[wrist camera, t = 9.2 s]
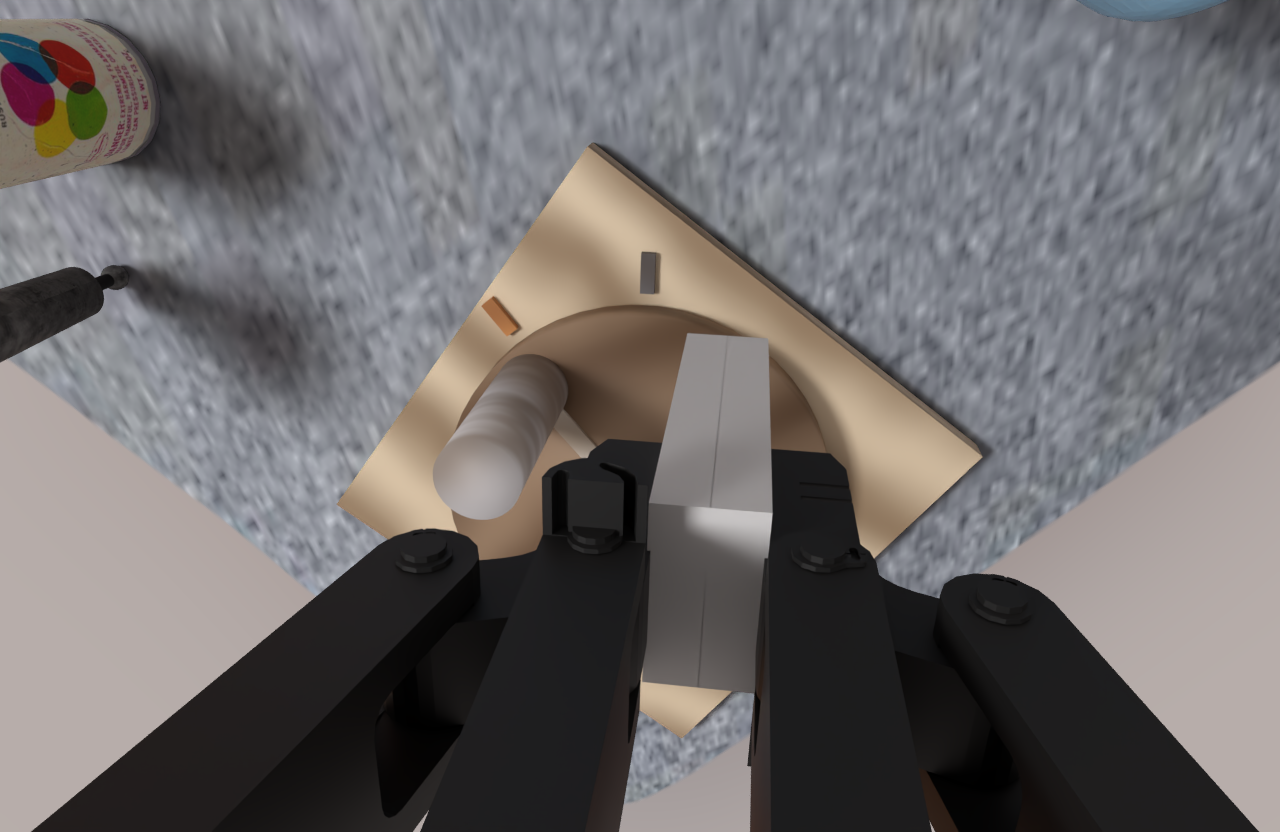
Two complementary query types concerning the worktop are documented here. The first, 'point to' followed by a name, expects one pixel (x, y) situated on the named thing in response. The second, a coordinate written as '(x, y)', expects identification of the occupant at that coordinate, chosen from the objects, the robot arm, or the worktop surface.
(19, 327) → the microphone
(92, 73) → the aerosol can
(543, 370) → the dial
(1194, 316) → the worktop surface
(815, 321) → the stand plate
